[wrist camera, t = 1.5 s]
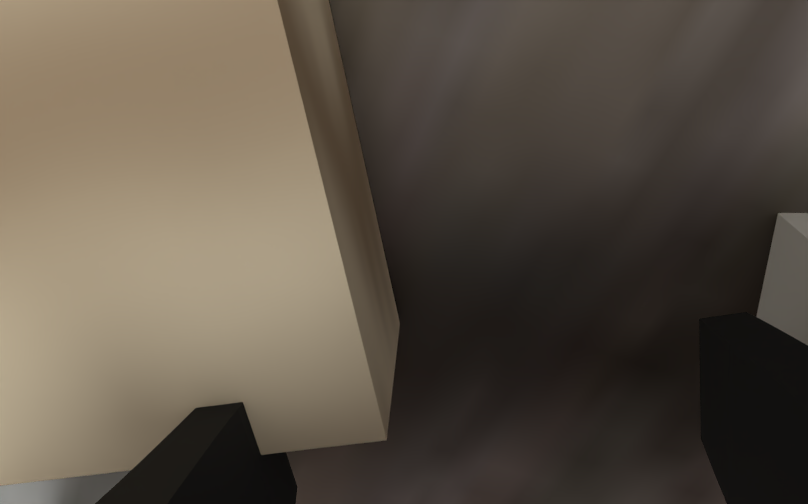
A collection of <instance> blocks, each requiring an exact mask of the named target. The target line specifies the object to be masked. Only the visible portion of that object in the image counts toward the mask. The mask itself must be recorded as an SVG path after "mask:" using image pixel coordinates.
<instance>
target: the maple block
mask: <svg viewBox="0 0 808 504" xmlns="http://www.w3.org/2000/svg"><path fill="white" fill-rule="evenodd" d="M399 328H400V321H399V317H398V312H397V308H396V303H395V299H394V294H393V290H392V285H391V280H390V276H389V271H388V267H387V262H386V258H385V253H384V249H383V244H382V240H381V235H380V231H379V226H378V222H377V217H376V212H375V208H374V203H373V199H372V194H371V190H370V185H369V181H368V176H367V172H366V167H365V163H364V158H363V154H362V149H361V144H360V140H359V135H358V131H357V126H356V122H355V117H354V113H353V108H352V104H351V99H350V95H349V90H348V86H347V81H346V76H345V72H344V67H343V63H342V58H341V54H340V49H339V45H338V40H337V36H336V31H335V27H334V22H333V18H332V13H331V8H330V4H329V0H0V486H2V485H10V484H19V483H27V482H36V481H44V480H53V479H61V478H70V477H78V476H87V475H95V474H104V473H112V472H121V471H129V470H132V469H133V468H134V467H135V466H136V465H137V464H138V463H140V462H141V461H142V460H143V459H144V458H145V457H146V456H147V455H148V454H149V453H150V452H151V451H152V450H153V449H154V448H155V447H156V446H157V445H158V444H159V443H160V442H161V441H162V440H163V439H164V438H165V437H166V436H167V435H168V434H170V433H171V432H172V431H173V430H174V429H175V428H176V427H177V426H178V425H179V424H180V423H181V422H182V421H183V420H184V419H185V418H186V417H187V416H188V415H189V414H190V413H191V412H192V411H193V410H194V409H195V408H199V407H207V406H215V405H223V404H230V403H238V402H243V404H244V407H245V410H246V413H247V416H248V419H249V421H250V424H251V427H252V430H253V433H254V436H255V439H256V442H257V445H258V448H259V450H260V453H261V455H265V454H274V453H282V452H291V451H299V450H308V449H316V448H325V447H333V446H342V445H350V444H359V443H367V442H376V441H384V440H387V434H388V425H389V416H390V407H391V399H392V390H393V381H394V372H395V363H396V354H397V346H398V337H399Z"/></svg>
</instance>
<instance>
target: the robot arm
mask: <svg viewBox="0 0 808 504" xmlns="http://www.w3.org/2000/svg"><path fill="white" fill-rule="evenodd" d="M699 332H700V400H701V440H702V442H703V445H704V447H705V450H706V452H707V455H708V458H709V460H710V463H711V465H712V468H713V471H714V473H715V476H716V478H717V480H718V483H719V485H720V488H721V490H722V493H723V495H724V497H725V500H726V502H727V504H808V345H806V344H804V343H803V342H801V341H799V340H797V339H796V338H794V337H792V336H790V335H788V334H787V333H785V332H783V331H781V330H779V329H778V328H776V327H774V326H772V325H770V324H769V323H767V322H765V321H763V320H761V319H759V318H757V317H755V316H753V315H751V314H749V313H747V312H745V313H738V314H731V315H723V316H716V317H709V318H702V319H699ZM296 493H297V485H296V482H295V479H294V476H293V473H292V470H291V467H290V464H289V461H288V458H287V455H286V452H282V453H274V454H265V455H261V453H260V450H259V448H258V445H257V442H256V439H255V436H254V433H253V430H252V427H251V424H250V421H249V419H248V416H247V413H246V410H245V407H244V404H243V402H238V403H230V404H223V405H215V406H207V407H199V408H195V409H194V410H193V411H192V412H191V413H190V414H189V415H188V416H187V417H186V418H185V419H184V420H183V421H182V422H181V423H180V424H179V425H178V426H177V427H176V428H175V429H174V430H173V431H172V432H171V433H170V434H168V435H167V436H166V437H165V438H164V439H163V440H162V441H161V442H160V443H159V444H158V445H157V446H156V447H155V448H154V449H153V450H152V451H151V452H150V453H149V454H148V455H147V456H146V457H145V458H144V459H143V460H142V461H141V462H140V463H138V464H137V465H136V466H135V467H134V468H133V469H132V470H131V471H130V472H129V473H128V474H127V475H126V476H125V477H124V478H123V479H122V480H121V481H120V482H119V483H118V484H117V485H115V486H114V487H113V488H112V489H111V490H110V491H109V492H108V493H106V494H105V495H104V496H103V497H102V498H101V499H100V500H99V501H98V502H96V503H95V504H295V503H296Z"/></svg>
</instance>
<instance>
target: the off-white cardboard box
mask: <svg viewBox="0 0 808 504" xmlns="http://www.w3.org/2000/svg"><path fill="white" fill-rule="evenodd" d="M756 317H757V318H759V319H761V320H763V321H765V322H767V323H769V324H770V325H772V326H774V327H776V328H778V329H779V330H781V331H783V332H785V333H787V334H788V335H790V336H792V337H794V338H796V339H797V340H799V341H801V342H803V343H804V344H806V345H808V213H778V215H777V220H776V225H775V230H774V234H773V239H772V244H771V249H770V254H769V258H768V263H767V268H766V273H765V277H764V282H763V287H762V292H761V297H760V301H759V306H758V311H757V316H756Z"/></svg>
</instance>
